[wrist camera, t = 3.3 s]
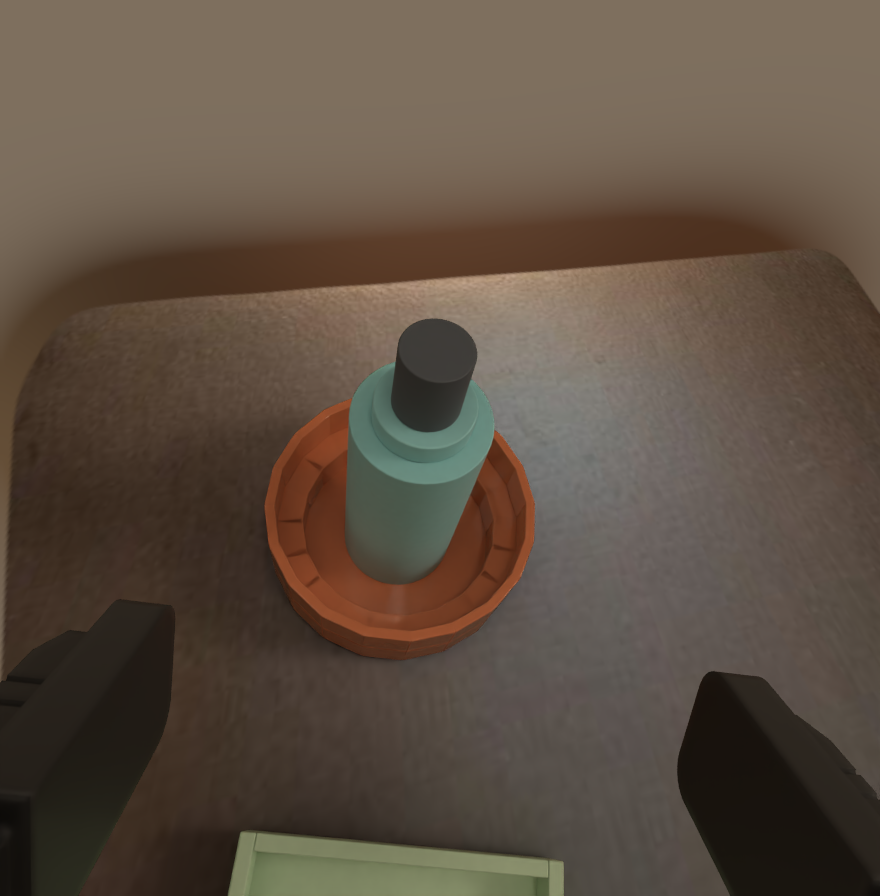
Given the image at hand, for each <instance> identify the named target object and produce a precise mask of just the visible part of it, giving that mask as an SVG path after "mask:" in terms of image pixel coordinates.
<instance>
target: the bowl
mask: <svg viewBox="0 0 880 896" xmlns="http://www.w3.org/2000/svg"><path fill="white" fill-rule="evenodd" d="M351 401H352V398H351V399H349V400H346V401H344V402H341V403H339V404H337V405H334V406H332V407H329V408H327V409H325V410H323V411H322V412H321V413H320V414H318V415H317V416H316V417H315V418H313V419H312V420H311V421H310V422H309V423H307V424H306V425H305V426H304V427H302V428H301V429H300V430H299V431H297V432H296V433H295V434H294V435H293V437H292V438H291V440H290V442H289V443H288V445H287V446H286V448H285V449H284V451H283V452H282V454H281V456H280V457H279V459H278V460H277V462H276V463H275V465H274V467H273V470H272V474H271V479H270V483H269V487H268V491H267V495H266V500H265V504H264V505H265V506H264V509H265V517H266V526H267V534H268V543H269V548H270V552H271V556H272V560H273V564H274V568H275V572H276V575H277V577H278V579H279V581H280V583H281V585H282V587H283V589H284V591H285V593H286V595H287V597H288V599H289V601H290V603H291V605H292V607H293V608H294V610H295V611H296V612H297V613H298V614H299V615H300V616H301V617H302V618H303V619H304V620H305V621H306V622H307V623H308V624H309V625H311V626H312V627H313V628H314V629H315V630H316V631H317V632H318V633H319V634H320V635H321V636H323V637H324V638H325V639H327V640H329V641H331V642H334V643H336V644H338V645H340V646H342V647H344V648H346V649H348V650H351V651H353V652H355V653H357V654H359V655H362V656H370V657H379V658H388V659H396V660H402V659H403V660H406V659H411V658H415V657H420V656H425V655H429V654H434V653H439V652H442V651H445V650H447V649H448V648H450V647H452V646H453V645H455V644H457V643H458V642H460V641H462V640H463V639H465V638H467V637H468V636H470V635H472V634H473V633H475V632H477V631H478V630H479V629H480V627H481V626H482V625H483V624H484V623H485V621H486V620H487V619H488V618H489V617H490V615H491V614H492V613H493V612H494V611H495V609H496V608H497V607H498V606H499V605H500V604H501V602H502V601H503V600H504V599H505V597H506V596H507V595H508V593H509V592H510V591H511V590H512V588H513V587H514V586H515V585H516V583H517V582H518V581H519V580H520V578H521V575H522V573H523V570H524V567H525V565H526V562H527V559H528V557H529V554H530V551H531V548H532V546H533V543H534V516H535V503H534V499H533V496H532V493H531V490H530V487H529V483H528V480H527V477H526V474H525V471H524V468H523V466H522V464H521V463H520V461H519V460H518V458H517V457H516V456H515V454H514V453H513V451H512V450H511V448H510V447H509V446H508V444H507V443H506V441H505V440H504V438H503V437H502V436H501V435H500V434H499V433H498V432H497V431H495V430H494V437H493V441H492V444H491V447H490V449H489V451H488V454H487V456H486V459H485V461H484V463H483V466H482V468H481V470H480V473H479V475H478V477H477V480H476V482H475V484H474V487H473V489H472V492H471V494H470V496H469V499H468V501H467V503H466V506H465V508H464V510H463V513H462V515H461V517H460V520H459V522H458V525H457V527H456V529H455V532H454V534H453V536H452V539H451V541H450V543H449V546H448V548H447V550H446V553H445V555H444V557H443V559H442V561H441V562H440V564H439V565H438V566H437V568H436V569H435V570H434V571H433V572H431V573H430V574H429V575H427V576H426V577H424V578H422V579H420V580H418V581H416V582H413V583H408V584H400V585H396V584H387V583H383V582H380V581H377V580H375V579H373V578H371V577H369V576H368V575H366V574H365V573H363V572H362V571H361V570H360V569H359V568H358V567H357V566H356V565H355V563H354V562H353V560H352V559H351V557H350V555H349V553H348V550H347V547H346V543H345V511H346V482H347V452H348V423H349V409H350V405H351Z"/></svg>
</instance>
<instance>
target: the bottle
mask: <svg viewBox="0 0 880 896" xmlns="http://www.w3.org/2000/svg"><path fill="white" fill-rule="evenodd" d="M476 361H477V349H476V345H475V343H474V341H473V339H472V337H471V336H470V335H469V334H468V332H467V331H465V330H464V329H463V328H462V327H460V326H459V325H457V324H455V323H453V322H450V321H447V320H443V319H425V320H421V321H418V322H416V323H414V324H412V325H410V326H409V327H408V328H407V329H406V330H405V331H404V332H403V333H402V335H401V337H400V339H399V342H398V348H397V356H396V362H393V363H390V364H388V365H385V366H383V367H381V368H379V369H377V370H376V371H374V372H373V373H371V374H370V375H369V376H368V377H367V378H366V379H365V380H364V381H363V382H362V383H361V384H360V386H359V387H358V389H357V390H356V392H355V394H354V396H353V398H352V401H351V405H350V409H349V423H348V452H347V482H346V511H345V543H346V547H347V550H348V553H349V555H350V557H351V559H352V560H353V562H354V563H355V565H356V566H357V567H358V568H359V569H360V570H361V571H362V572H363V573H365V574H366V575H368V576H369V577H371V578H373V579H375V580H377V581H380V582H383V583H387V584H396V585H400V584H408V583H413V582H416V581H418V580H420V579H422V578H424V577H426V576H427V575H429V574H430V573H431V572H433V571H434V570H435V569H436V568H437V566H438V565H439V564H440V562H441V561H442V559H443V557H444V555H445V553H446V550H447V548H448V546H449V543H450V541H451V539H452V536H453V534H454V532H455V529H456V527H457V525H458V522H459V520H460V517H461V515H462V513H463V510H464V508H465V506H466V503H467V501H468V499H469V496H470V494H471V492H472V489H473V487H474V484H475V482H476V480H477V477H478V475H479V473H480V470H481V468H482V466H483V463H484V461H485V459H486V456H487V454H488V451H489V449H490V447H491V444H492V441H493V437H494V417H493V412H492V409H491V406H490V404H489V402H488V399H487V397H486V396H485V394H484V393H483V391H482V390H481V389H480V388H479V386H478V385H477V384H476V383H475V382H474V381H473V380H472V379H471V377H472V374H473V371H474V367H475V364H476Z"/></svg>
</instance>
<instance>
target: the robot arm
mask: <svg viewBox="0 0 880 896" xmlns="http://www.w3.org/2000/svg"><path fill="white" fill-rule="evenodd" d="M174 633H175V612H174V608H173V607H172V606H171V605H163V604H154V603H146V602H138V601H129V600H121V599H119V600H116V601H115V602H114V603H113V604H112V605H111V606H110V607H109V608H108V609H107V610H106V611H105V613H104V614H103V615H102V616H101V617H100V618H99V619H98V620H97V622H96V623H95V624H94V625H93V626H92V627H91V628H90V630H89V631H88V632H81V631H73V630H69V631H67V632H65V633H63V634H61V635H59V636H57V637H55V638H54V639H52V640H50V641H48V642H46V643H44V644H42V645H41V646H39V647H37V648H35V649H33V650H32V651H31V652H30V653H29V654H28V655H27V656H26V657H25V658H24V659H23V660H22V661H21V662H20V663H19V664H18V665H17V666H16V667H15V668H14V669H13V670H12V671H11V672H10V673H9V674H8V675H7V679H6V681H1V682H0V896H78V895H79V893H80V891H81V889H82V887H83V885H84V884H85V882H86V880H87V878H88V876H89V874H90V872H91V870H92V868H93V867H94V865H95V863H96V861H97V859H98V857H99V855H100V853H101V851H102V850H103V848H104V846H105V844H106V842H107V840H108V838H109V836H110V834H111V833H112V831H113V829H114V827H115V825H116V823H117V821H118V819H119V817H120V816H121V814H122V812H123V810H124V808H125V806H126V804H127V802H128V800H129V799H130V797H131V795H132V793H133V791H134V789H135V787H136V785H137V784H138V782H139V780H140V778H141V776H142V774H143V772H144V770H145V768H146V767H147V765H148V763H149V761H150V759H151V757H152V755H153V753H154V751H155V750H156V748H157V746H158V744H159V741H160V739H161V737H162V734H163V731H164V728H165V725H166V721H167V717H168V713H169V707H170V701H171V687H172V669H173V651H174ZM855 770H856V769H855V768H854V767H853V766H852V765H851V763H850V762H849V761H848V760H847V759H846V758H845V757H844V755H843V754H842V753H841V752H840V751H839V750H838V748H837V747H836V746H835V745H834V744H833V743H832V742H831V741H830V740H829V739H828V738H827V737H825V736H824V735H823V734H821V733H820V732H819V731H817V730H816V729H815V728H813V727H812V726H811V725H809V724H808V723H807V722H805V721H804V720H803V719H801V718H800V717H799V716H797V715H795V714H794V713H793V712H792V711H791V710H790V708H789V707H788V706H787V705H786V704H785V702H784V701H783V700H782V699H781V698H780V697H779V695H778V694H777V693H776V692H775V691H774V689H773V688H772V687H771V686H770V685H769V683H768V682H767V681H766V680H764V679H763V678H761V677H757V676H749V675H740V674H732V673H723V672H715V671H711V672H708V673H707V674H706V675H705V676H704V677H703V679H702V681H701V684H700V686H699V690H698V693H697V696H696V699H695V703H694V706H693V709H692V713H691V716H690V719H689V723H688V726H687V729H686V732H685V736H684V739H683V742H682V746H681V749H680V752H679V757H678V765H677V775H678V784H679V789H680V793H681V796H682V799H683V801H684V803H685V805H686V807H687V809H688V811H689V813H690V815H691V817H692V819H693V821H694V823H695V825H696V827H697V829H698V831H699V833H700V835H701V837H702V839H703V841H704V843H705V845H706V847H707V849H708V851H709V853H710V855H711V857H712V859H713V861H714V863H715V865H716V867H717V869H718V871H719V873H720V875H721V878H722V880H723V882H724V884H725V886H726V888H727V890H728V892H729V894H730V896H880V800H878V799H877V793H876V792H875V791H874V790H873V789H872V788H871V786H870V785H869V784H868V783H867V782H866V781H865V780H864V778H863V777H862V776H861V775H856V772H855Z"/></svg>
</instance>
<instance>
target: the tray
mask: <svg viewBox="0 0 880 896" xmlns="http://www.w3.org/2000/svg"><path fill="white" fill-rule="evenodd" d="M228 896H564V868H563V861H559V860H555V859H550V858H543V857H532V856H522V855H511V854H501V853H490V852H479V851H469V850H458V849H447V848H437V847H426V846H416V845H405V844H394V843H384V842H373V841H362V840H352V839H341V838H331V837H320V836H309V835H299V834H288V833H278V832H267V831H256V830H246V831H241V833H240V837H239V841H238V846H237V851H236V856H235V861H234V866H233V871H232V876H231V881H230V886H229V891H228Z"/></svg>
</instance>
